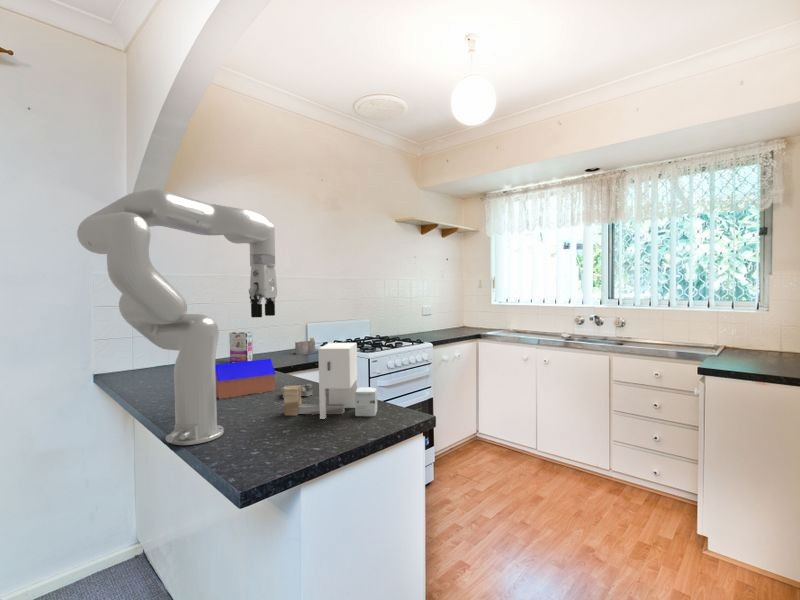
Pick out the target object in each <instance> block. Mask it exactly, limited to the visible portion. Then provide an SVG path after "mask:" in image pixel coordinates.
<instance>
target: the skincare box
mask: <svg viewBox="0 0 800 600" xmlns="http://www.w3.org/2000/svg"><path fill="white" fill-rule="evenodd" d="M354 410H355V414H354V415H355V417H375V416H376V415H377V412H378V386H377V387H374V386H373V387H370V386H369V387H368V386H367V387H365V386H363V387H361V386H360V387H358V389H357V390H356V392H355V408H354Z"/></svg>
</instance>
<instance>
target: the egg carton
mask: <svg viewBox="0 0 800 600" xmlns="http://www.w3.org/2000/svg"><path fill="white" fill-rule="evenodd" d="M287 386H288V385H285V386H283V387H282V388H281V395H283V396H282V399H283V398H284V389H285V388H286V387H287ZM297 386H301V396H310V395H312V396H313V391H314V390H313V389H314V388H313V387H312V384H311V382H310V383H306V384H302V385H301V384H298V385H297ZM310 397H311V396H310Z"/></svg>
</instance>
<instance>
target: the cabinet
mask: <svg viewBox="0 0 800 600" xmlns="http://www.w3.org/2000/svg"><path fill="white" fill-rule="evenodd" d="M357 343H358V342H328V343H326V344H324V345H323V346H321V347H319V348H318V385H319V387H318V389H319V390H318V391H319V392H318V394H319V395H318V396H319V398H318V399H319V404H320V415H319V420H320V419H325V418H326V419H327V415H326V404H327V395H326V394H327V390H326V389H328V404H344V409H355V392H356V390H357V389H358V386H359V385H358V344H357ZM326 419H325V420H326Z"/></svg>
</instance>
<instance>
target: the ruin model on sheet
mask: <svg viewBox="0 0 800 600" xmlns="http://www.w3.org/2000/svg"><path fill="white" fill-rule="evenodd" d="M294 343H295V348H294V349H295V355H296V356H298V354H299V355H307V354H308V355H309V354H315V353H316V341H315V339H314V337H310V338H309V340H306V341H299V342H297V341H295V342H294Z"/></svg>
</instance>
